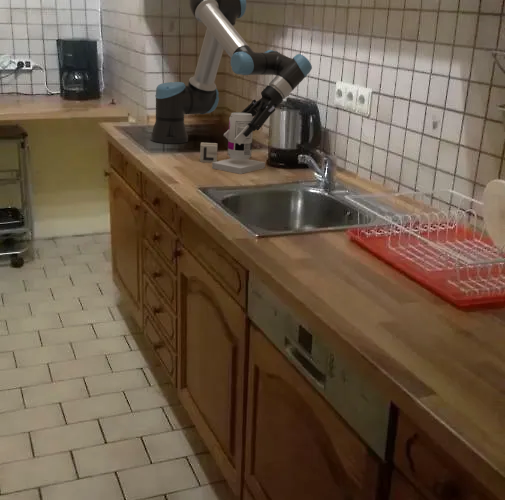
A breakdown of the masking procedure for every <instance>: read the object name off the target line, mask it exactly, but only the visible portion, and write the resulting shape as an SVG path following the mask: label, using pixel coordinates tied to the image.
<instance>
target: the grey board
mask: <svg viewBox="0 0 505 500" xmlns="http://www.w3.org/2000/svg"><path fill="white" fill-rule="evenodd" d="M265 167H266V162H264V161H259V160H255V159H250V158H249V159H233V158H227V159H222V160H217V162H213V163H212V164H211V169H212V170H213V169H214V170H219V171H224V172H228V173H234V174H238V175H242V174H246V173H249V172H255V171H258V170H262V169H265Z"/></svg>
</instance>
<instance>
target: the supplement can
mask: <svg viewBox="0 0 505 500" xmlns="http://www.w3.org/2000/svg"><path fill="white" fill-rule="evenodd" d="M241 112H242V111H241ZM241 112H239V111H238V112H235V111H234V112H231V113H230V116H229V118H228V119H229V120H228V121H229V122H228V129H229V137H228V139H227V142H228V143H227V155H228V157H229V159H231V158H233V159H250V158H251V157H252V153H253V150H252V149H253V133H254V131H253V132H252V133H251V134H250V135H249V136H248V137H247V138H246V139H245V140H244V141H243V142H242V143H241V144H240V145H239V144H238V143H237V142H236V141H235V140H234V139H235V138H236V137H237V135H238V134H239V133H240V132H241V131H242V130H243V129H244V128H245V127H246V126H247V125H248V123H251V121H252V120H253V118H254V116H253V117H252V114H250V113H241ZM248 126H249V125H248Z"/></svg>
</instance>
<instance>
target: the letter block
mask: <svg viewBox="0 0 505 500" xmlns="http://www.w3.org/2000/svg"><path fill="white" fill-rule="evenodd" d="M199 149H200V150H199V152H200V153H199V154H200V155H199V162H200V163H210V164H211V163H213V162H217V161H218V143H216V142H200V148H199Z"/></svg>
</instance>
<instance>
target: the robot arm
mask: <svg viewBox="0 0 505 500" xmlns="http://www.w3.org/2000/svg"><path fill="white" fill-rule="evenodd" d="M188 2H189V9H190V11H191V13H192V15H193V17H194V18H195V19H196V20H197V21H198V22H199V23H203V25H204V26H205V27H206V30H205V35H204V38H203V41H202V45H201V49H200V53H199V56H198V59H197V64H196V68H195V71H194V75H193V76H191V77H189V80H188V83H187V85H186V84H185V83H184V82H183V81H170V82H168V81H167V82H164V83H160V84H158V85H157V86H156V89H155V90H156V91H155V122H154V125H153V128H152V132H151V134H150V140H151V142H156V143H159V144H172V145H173V144H184V143H188V141H189V135H188V133H187V130H186V129H187V128H186V124H185V115H206V114H210V113H212V112H214V111H215V110H216V109H217V107H218V105H219V101H220V97H219V95H220V94H219V93H220V92H219V90H218V89H217V85H216V83H215V80H216V77H217V73H218V71H219V66H220V64H221V60H222V57H223V53H224V51H225V53H226V54H227V55H228V56H229V58H230V67H231V70H232V72H233V73H234V74H236V75H241V76H255V75H256V76H258V75H259V76H275V77H274V78H272V80H270V82H269V83H268V85H266V87H264V89H262V91H261V92H260V94H261V98H259V100H256V99H253V100H252V101H251V102H250V103H249V105H248V106H246V107H245V108H244V109H243V110H242V111H241V113H250V114H252V117H253V120H252V121H251V123H248V125H249V126H248V125H247V126H246V127H245V128H244V129H243V130H242V131H241V132H240V133H239V134H238V135H237V137H236V138H235V139H234V140H235V141H236V142H237V143H238V144H239V145H240V144H241V143H242V142H243V141H244V140H245V139H246V138H247V137H248V136H249V135H250V134H251V133H252V132H253V133H254V132H255V131H259V130H260V129H261V128H262V126H263V125H264V124H265V123H266V122H267V120H268V119H269V117H271V115H272V114H274V112H275V111H276V108H278V107H279V106H280V105H281V104H282V103H283V102H284V100H285V99H286V98H287V97H289V96H290V94H291V93H292V92H293V91H294V89H296V87H298V85H299V84H300V83H302V81H303V80H304V79H305V78H306V77H307V76H308V75H309V74H310V72H311V71H312V69H313V67H312V66H313V65H312V63H311V61H310V60H309V59H308V58H307V57H306V56H305V55H303V54H301V53H298V54H296V55H295V56H293V58H292V57H289V56H286V55H285V54H283V53H280V52H278V51H276V50H274V49H268V50H266V51H264V52H257V51H256V52H255V51H254V50H253V49H252V48H251V47H250V46H249V44H248V43H247V42H246V40H245V39H244V38H243V37H242V36H241V34H240V33H239V32H238V31H237V30H236V28H235V27H234V26H235V25H236V22H237V19H240V18H243V16H244V15H245V13H246V10H247V0H188ZM223 137H225V138H226V139H227V140H228V137H229V128H228V129H227V131H225V132H224V133H223Z"/></svg>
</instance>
